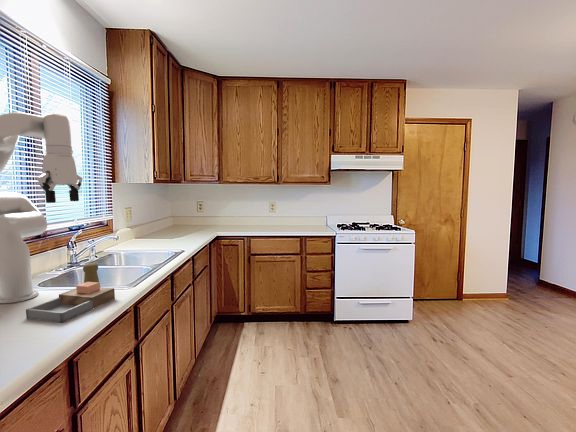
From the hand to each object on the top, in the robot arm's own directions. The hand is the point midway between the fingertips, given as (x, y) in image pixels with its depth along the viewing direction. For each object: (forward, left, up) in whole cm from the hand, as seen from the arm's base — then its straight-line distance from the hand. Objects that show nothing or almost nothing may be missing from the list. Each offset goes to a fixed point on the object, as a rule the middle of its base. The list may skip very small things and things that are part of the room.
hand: (63, 201), depth 116 cm
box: (+6, -9, -36) cm, 38 cm away
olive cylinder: (-3, +12, -36) cm, 38 cm away
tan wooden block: (+6, +1, -36) cm, 36 cm away
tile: (+6, +2, -32) cm, 33 cm away
